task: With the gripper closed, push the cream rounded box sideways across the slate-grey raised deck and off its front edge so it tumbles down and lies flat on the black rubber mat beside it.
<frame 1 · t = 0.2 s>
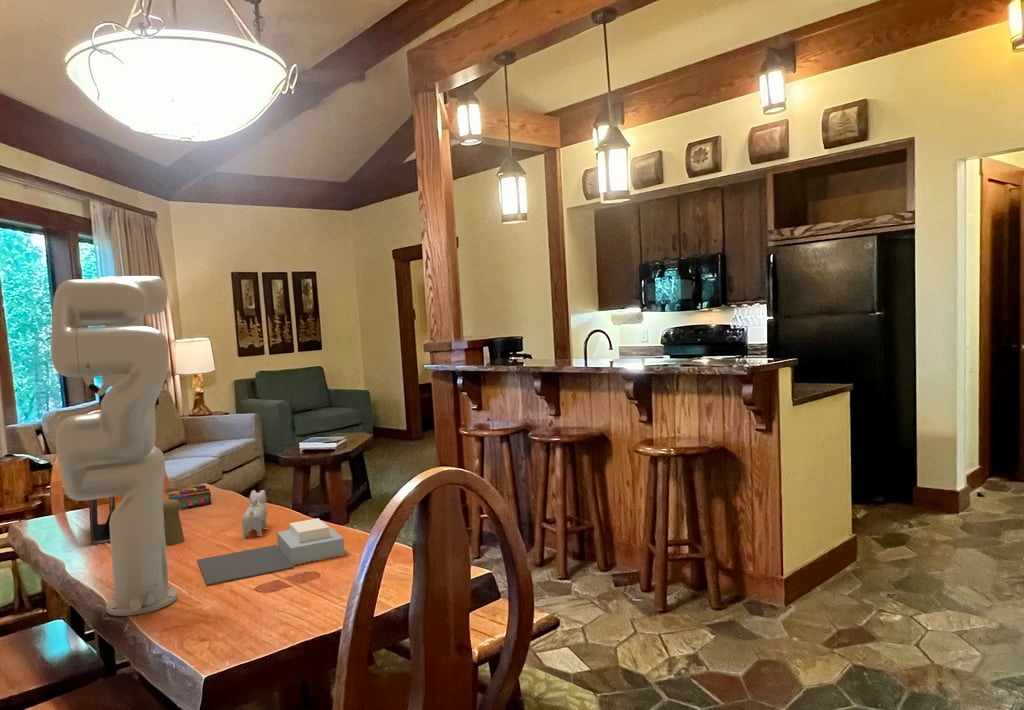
hand: (130, 410, 159), 37 cm above the table, tool pointing down, fingers open, 9 cm apart
deck: (310, 551, 169), on the table
mat: (244, 564, 161), on the table
olive green upright block: (171, 542, 183), on the table
letter holder: (114, 535, 194), on the table
cream rounded box: (309, 535, 169), point 4 cm above the table, touching deck
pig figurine: (255, 533, 188), on the table
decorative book: (189, 505, 226), on the table
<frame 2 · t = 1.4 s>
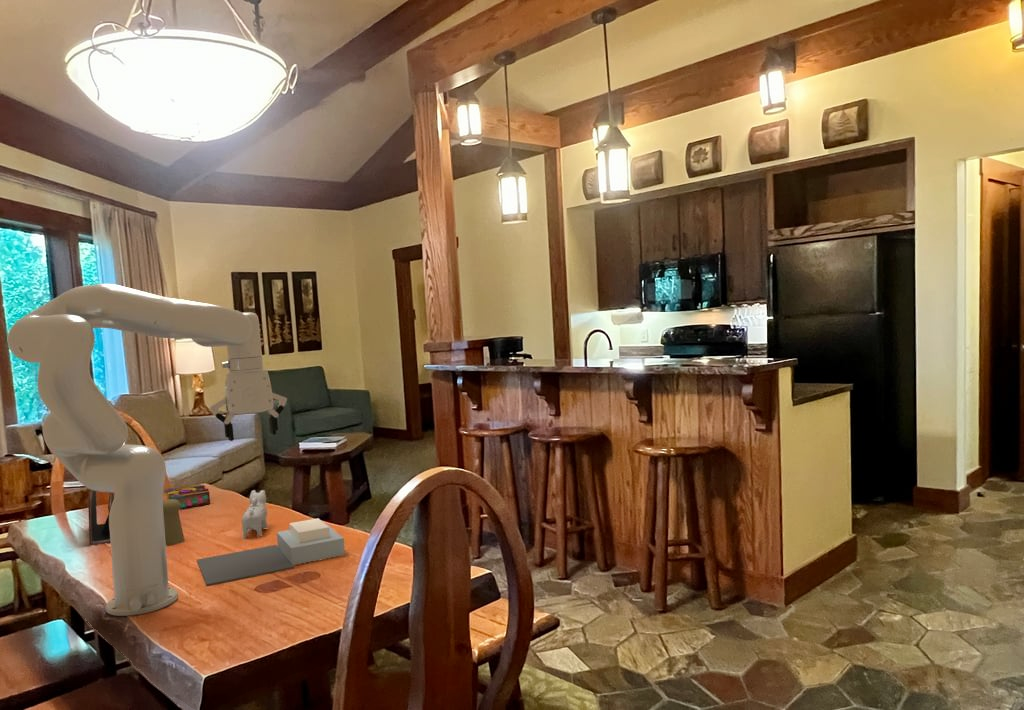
hand: (252, 436, 167), 28 cm above the table, tool pointing down, fingers open, 9 cm apart
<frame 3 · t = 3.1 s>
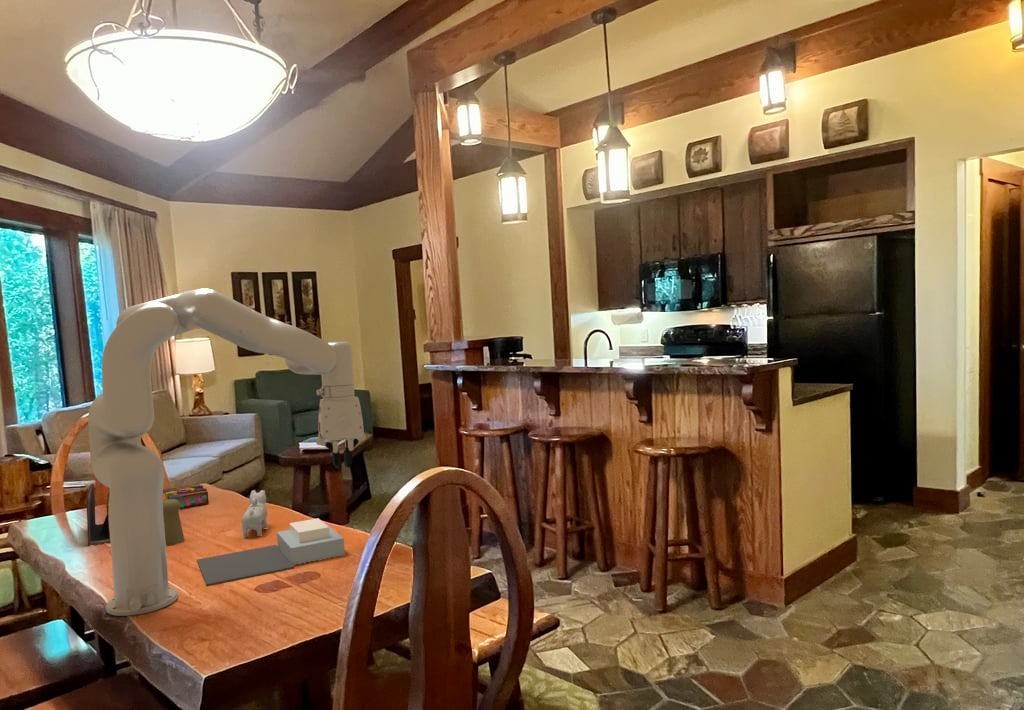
hand: (342, 467, 172), 19 cm above the table, tool pointing down, fingers closed
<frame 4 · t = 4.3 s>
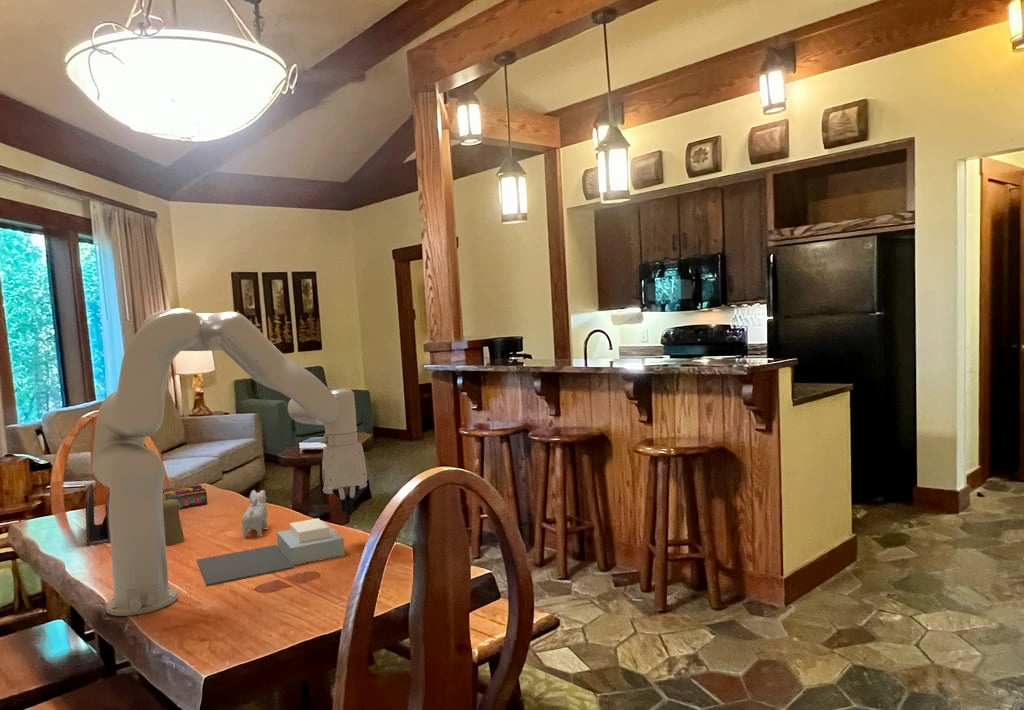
hand: (347, 513, 173), 8 cm above the table, tool pointing down, fingers closed
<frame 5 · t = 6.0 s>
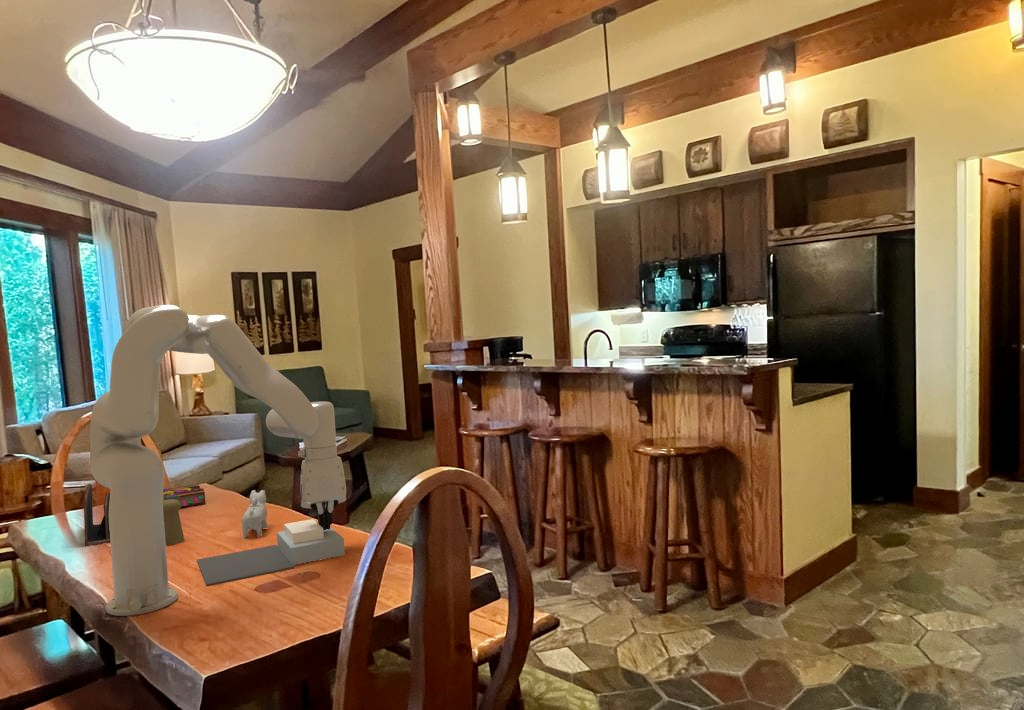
hand: (325, 528, 170), 5 cm above the table, tool pointing down, fingers closed
cream rounded box: (303, 536, 168), point 4 cm above the table, touching gripper
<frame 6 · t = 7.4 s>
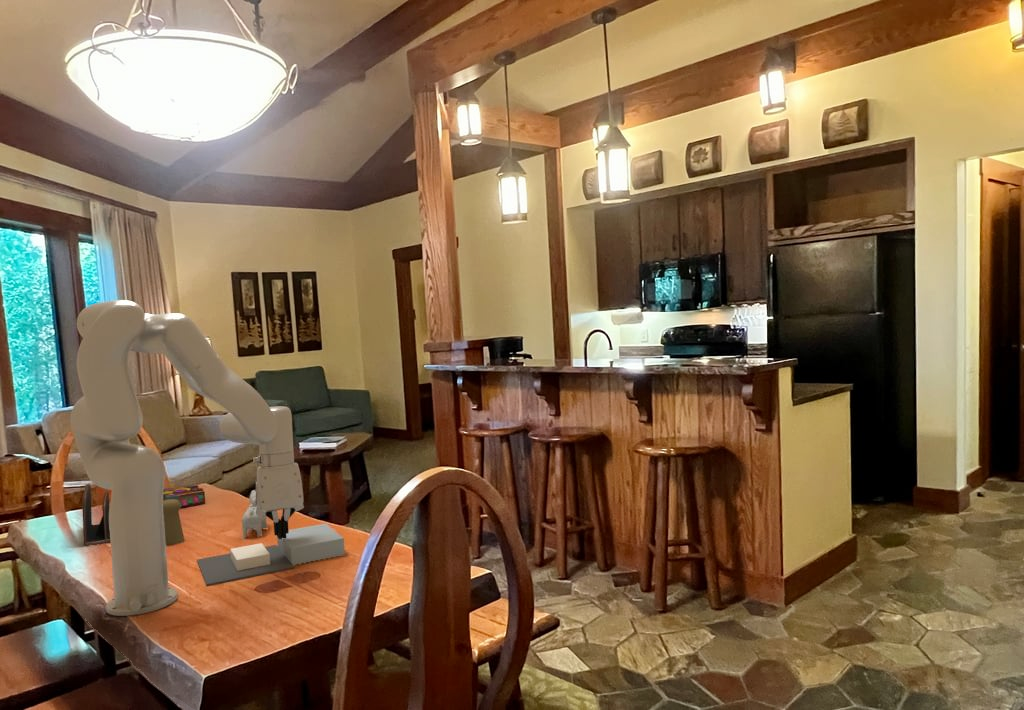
hand: (281, 537, 165), 5 cm above the table, tool pointing down, fingers closed
cream rounded box: (249, 551, 162), point 3 cm above the table, tilted 180°, touching mat
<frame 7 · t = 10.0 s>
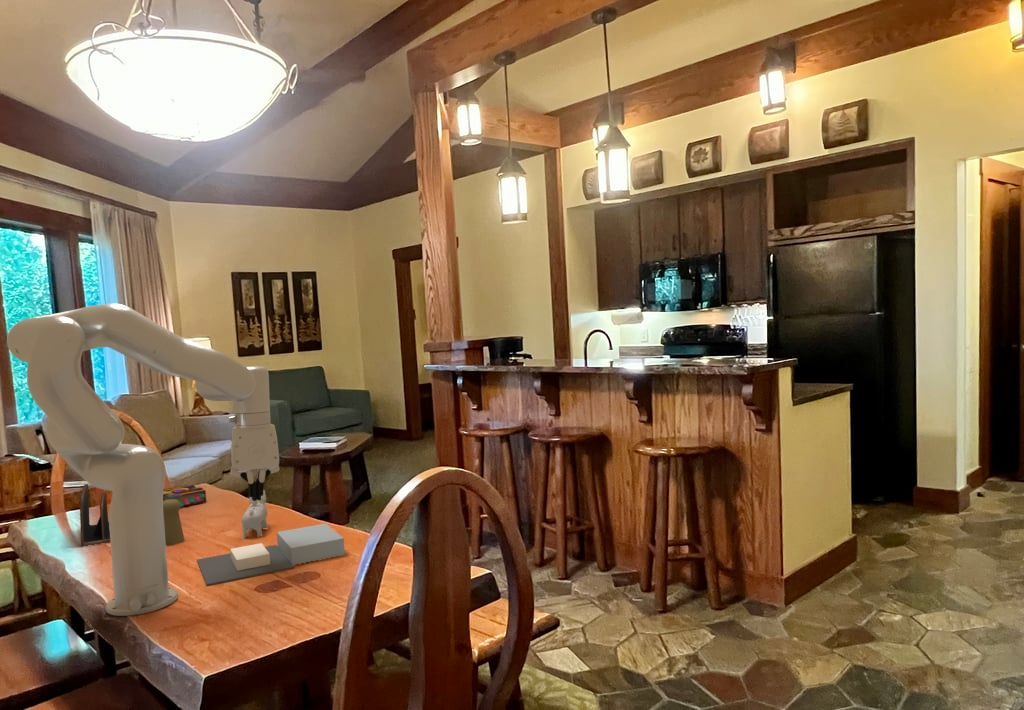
hand: (256, 499, 162), 15 cm above the table, tool pointing down, fingers closed
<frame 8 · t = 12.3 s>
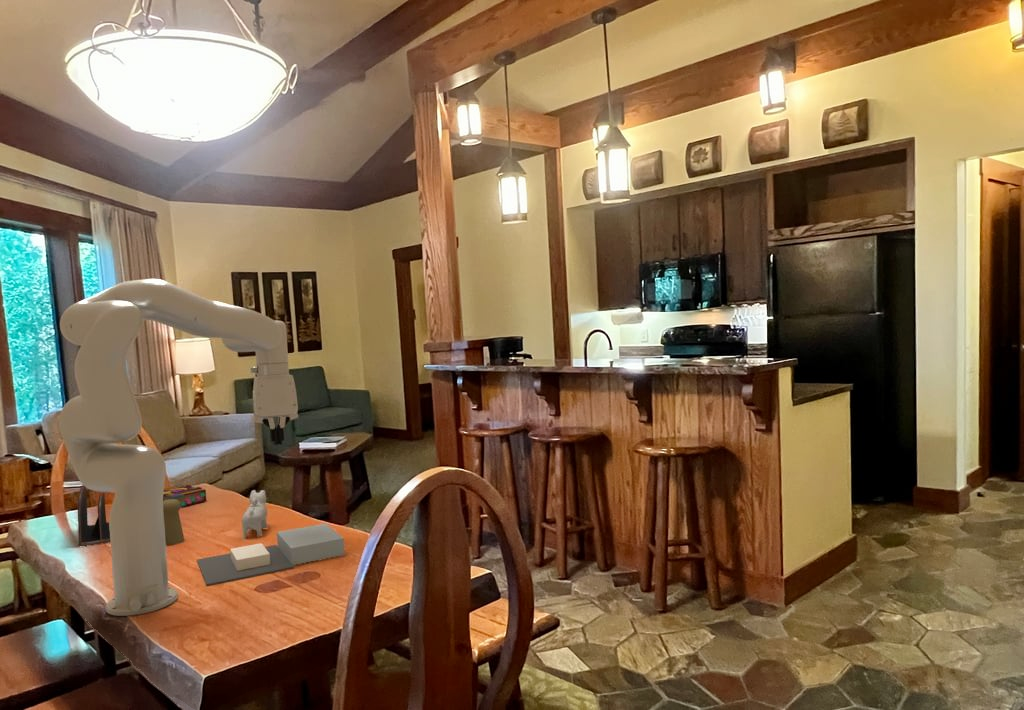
hand: (277, 444, 175), 25 cm above the table, tool pointing down, fingers closed
at the end: cream rounded box inside the target area (1.7 cm from its centre), point 2.8 cm above the table; cream rounded box touching mat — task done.
